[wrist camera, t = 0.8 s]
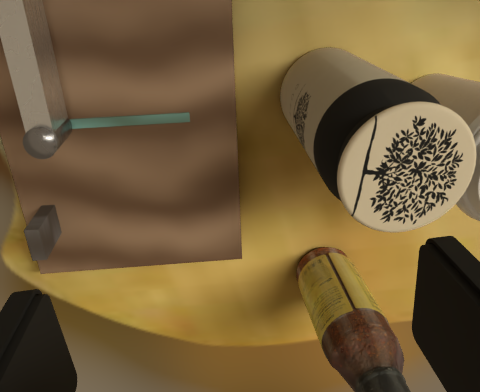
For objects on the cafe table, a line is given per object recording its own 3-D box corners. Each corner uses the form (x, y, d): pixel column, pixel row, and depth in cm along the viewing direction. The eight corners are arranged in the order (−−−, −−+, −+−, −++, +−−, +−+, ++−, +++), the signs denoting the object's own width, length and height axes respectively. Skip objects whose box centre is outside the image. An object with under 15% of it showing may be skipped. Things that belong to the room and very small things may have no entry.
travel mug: (381, 59, 38) (510, 118, 22) (349, 143, 42) (442, 248, 26) (294, 36, 37) (366, 81, 21) (269, 125, 40) (314, 224, 24)
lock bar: (0, -44, 31) (-33, -48, 27) (35, -45, 31) (8, -49, 27) (45, 140, 37) (24, 162, 33) (74, 138, 37) (57, 160, 33)
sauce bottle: (295, 293, 49) (348, 472, 31) (293, 246, 46) (351, 413, 29) (352, 286, 49) (438, 460, 32) (354, 239, 47) (449, 400, 29)
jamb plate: (-52, -81, 32) (-104, -93, 26) (226, -90, 33) (231, -103, 27) (45, 265, 45) (24, 303, 40) (240, 250, 46) (246, 286, 41)
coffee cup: (449, 167, 44) (559, 251, 30) (362, 144, 42) (438, 222, 28) (499, 72, 40) (651, 120, 26) (405, 42, 38) (517, 77, 25)
